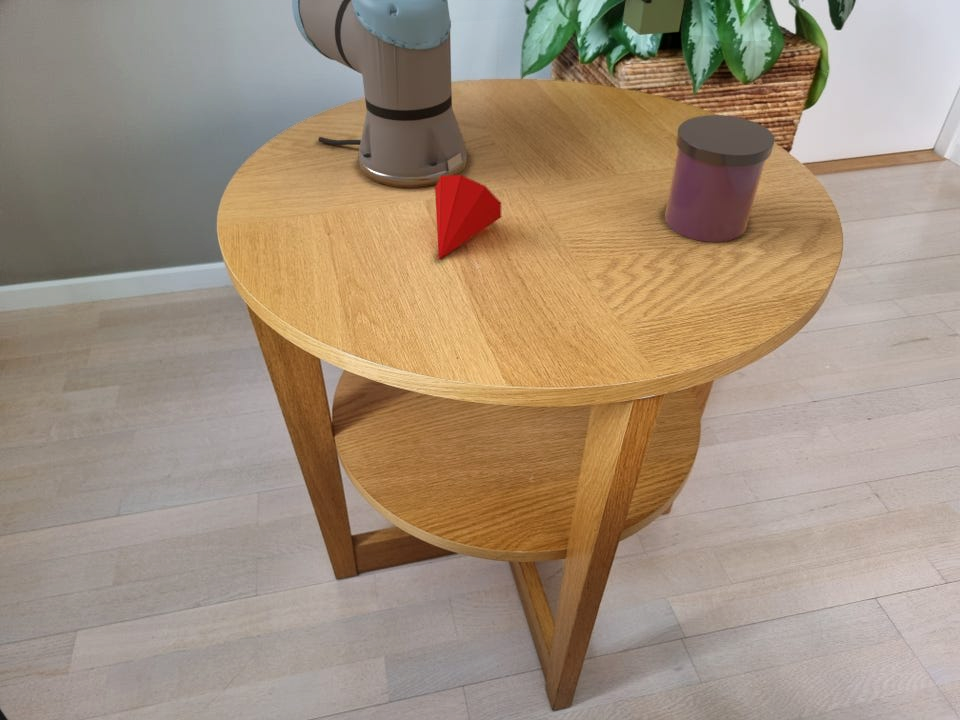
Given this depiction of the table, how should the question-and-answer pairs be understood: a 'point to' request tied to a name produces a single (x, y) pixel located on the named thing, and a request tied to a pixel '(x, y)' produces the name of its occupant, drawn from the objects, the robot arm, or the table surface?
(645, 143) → the table surface
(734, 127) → the jar
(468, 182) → the gemstone
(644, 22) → the green block
